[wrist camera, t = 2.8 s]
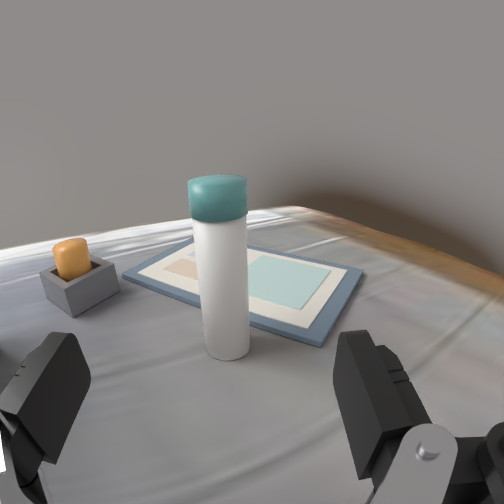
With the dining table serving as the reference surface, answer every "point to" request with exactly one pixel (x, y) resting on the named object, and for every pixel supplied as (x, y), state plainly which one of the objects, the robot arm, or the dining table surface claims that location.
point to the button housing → (81, 287)
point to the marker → (222, 262)
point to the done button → (72, 258)
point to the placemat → (263, 288)
